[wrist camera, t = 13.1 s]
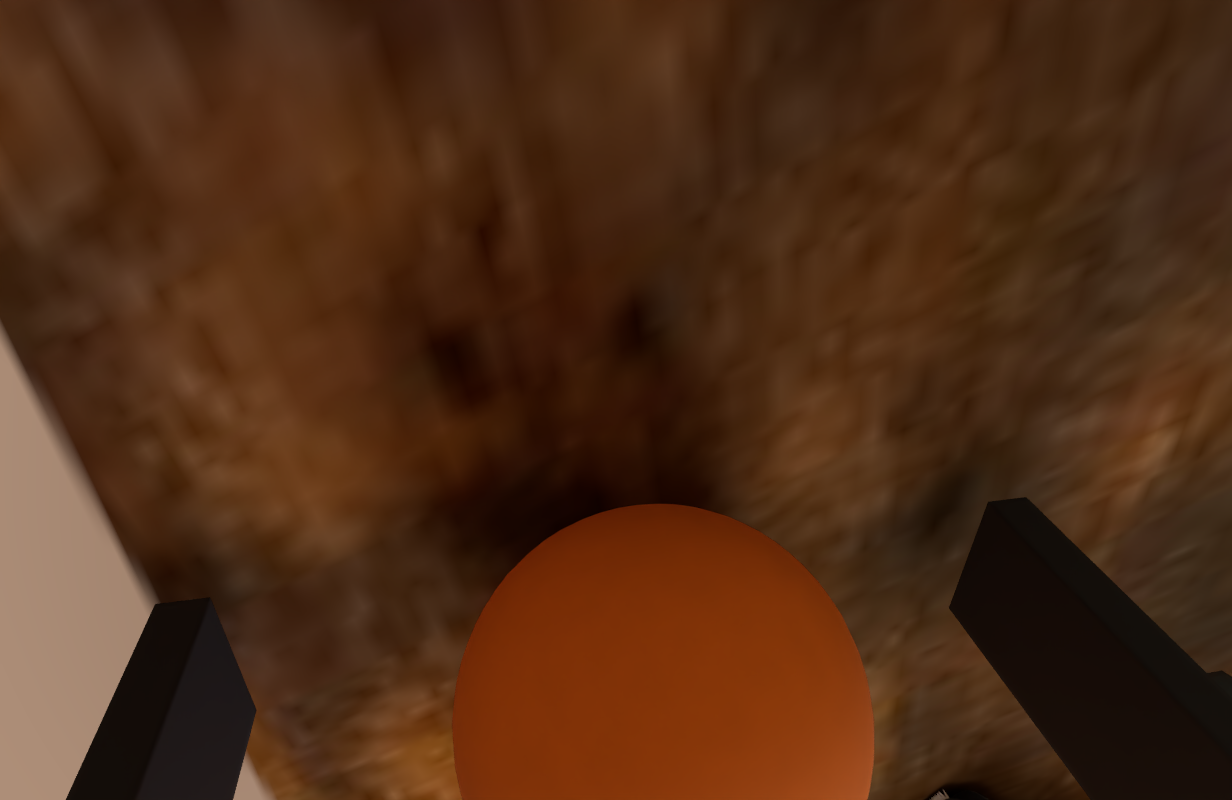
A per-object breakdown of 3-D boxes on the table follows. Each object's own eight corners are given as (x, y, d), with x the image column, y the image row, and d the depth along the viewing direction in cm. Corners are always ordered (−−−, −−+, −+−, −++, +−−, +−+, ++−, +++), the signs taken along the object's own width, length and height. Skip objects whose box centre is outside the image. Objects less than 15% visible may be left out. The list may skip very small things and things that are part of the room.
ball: (433, 446, 11) (413, 857, 6) (800, 411, 12) (1041, 741, 7) (470, 691, 14) (477, 1092, 9) (758, 648, 15) (904, 991, 10)
